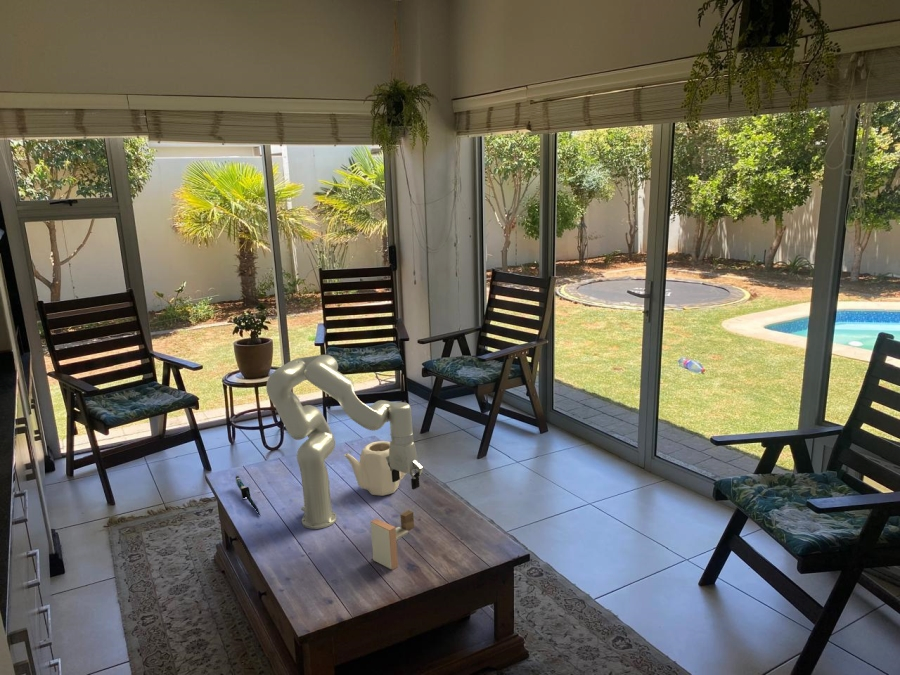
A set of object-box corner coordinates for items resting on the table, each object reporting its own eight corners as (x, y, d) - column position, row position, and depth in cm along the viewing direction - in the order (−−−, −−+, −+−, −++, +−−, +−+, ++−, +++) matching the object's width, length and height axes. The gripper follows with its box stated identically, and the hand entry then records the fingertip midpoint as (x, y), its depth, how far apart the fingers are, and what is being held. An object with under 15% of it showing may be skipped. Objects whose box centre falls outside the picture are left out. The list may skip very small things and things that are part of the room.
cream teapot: (341, 491, 270) (337, 447, 265) (402, 475, 281) (399, 433, 277) (354, 507, 256) (351, 461, 252) (418, 490, 268) (415, 445, 264)
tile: (372, 560, 220) (369, 521, 217) (379, 556, 222) (376, 518, 219) (391, 570, 214) (388, 530, 211) (398, 566, 216) (395, 527, 213)
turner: (373, 543, 231) (372, 527, 229) (406, 524, 242) (405, 508, 241) (383, 547, 227) (382, 531, 226) (416, 528, 239) (415, 513, 238)
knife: (235, 485, 276) (234, 475, 275) (243, 483, 278) (242, 473, 276) (254, 523, 251) (252, 513, 250) (262, 521, 253) (261, 511, 251)
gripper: (377, 436, 234) (381, 481, 238) (412, 447, 223) (415, 495, 227) (392, 429, 239) (396, 474, 243) (428, 440, 228) (431, 486, 232)
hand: (405, 484), depth 235 cm, fingers open, 9 cm apart
